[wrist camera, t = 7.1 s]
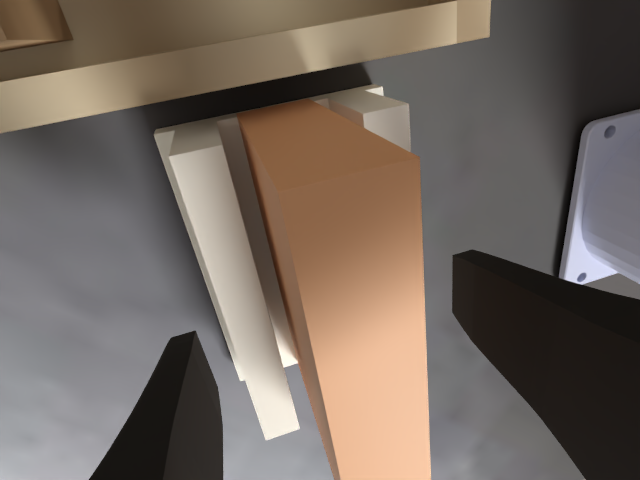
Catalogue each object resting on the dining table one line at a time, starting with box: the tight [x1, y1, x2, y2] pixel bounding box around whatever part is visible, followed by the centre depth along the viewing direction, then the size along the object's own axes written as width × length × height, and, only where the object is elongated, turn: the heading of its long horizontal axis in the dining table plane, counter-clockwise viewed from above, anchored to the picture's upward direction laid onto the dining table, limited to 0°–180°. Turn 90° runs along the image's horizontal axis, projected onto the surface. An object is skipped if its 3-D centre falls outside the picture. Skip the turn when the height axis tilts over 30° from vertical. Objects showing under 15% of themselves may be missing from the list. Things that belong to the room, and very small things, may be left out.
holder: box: [154, 84, 411, 440], centre depth 13 cm, size 7×10×4 cm
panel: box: [236, 99, 431, 480], centre depth 11 cm, size 2×10×7 cm, turn 9°
